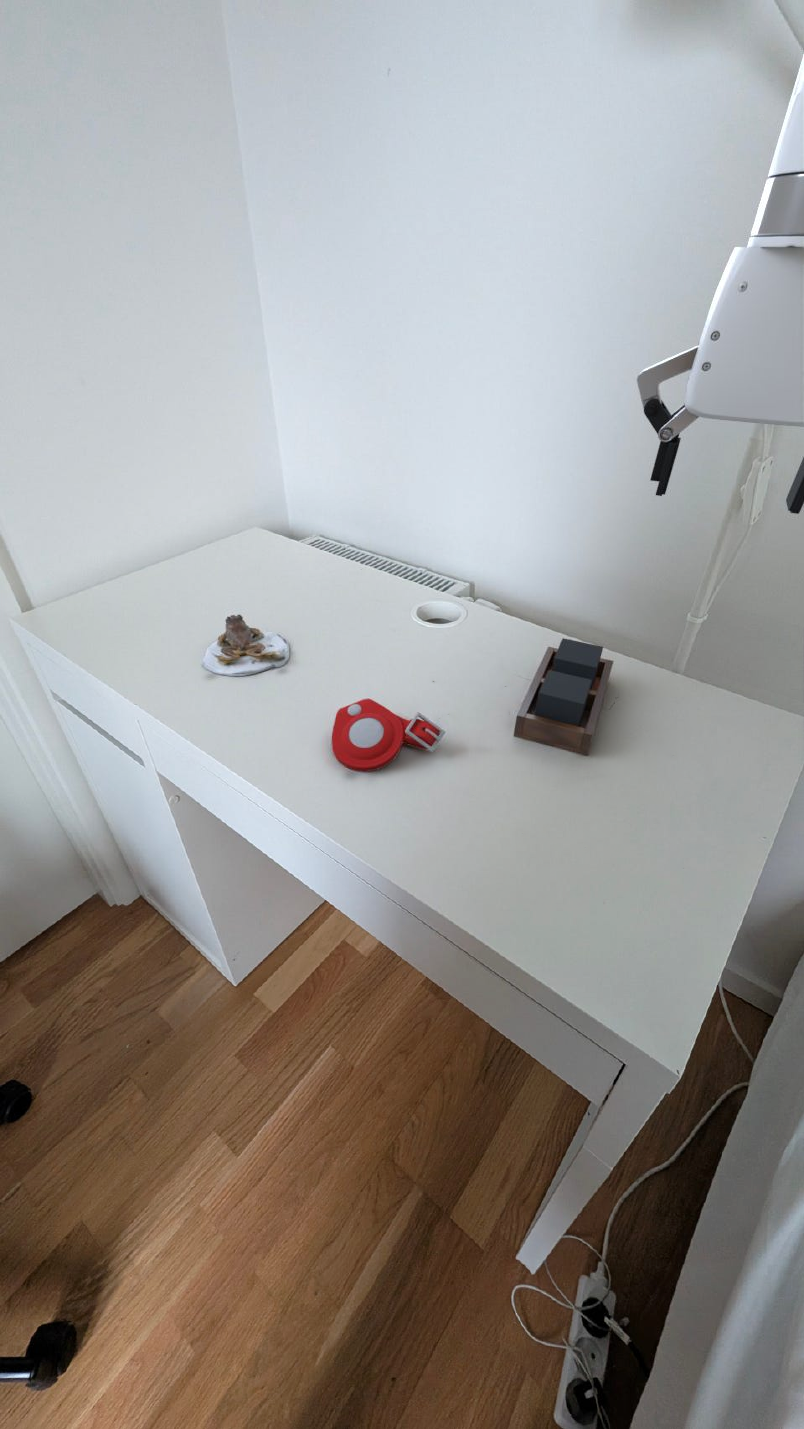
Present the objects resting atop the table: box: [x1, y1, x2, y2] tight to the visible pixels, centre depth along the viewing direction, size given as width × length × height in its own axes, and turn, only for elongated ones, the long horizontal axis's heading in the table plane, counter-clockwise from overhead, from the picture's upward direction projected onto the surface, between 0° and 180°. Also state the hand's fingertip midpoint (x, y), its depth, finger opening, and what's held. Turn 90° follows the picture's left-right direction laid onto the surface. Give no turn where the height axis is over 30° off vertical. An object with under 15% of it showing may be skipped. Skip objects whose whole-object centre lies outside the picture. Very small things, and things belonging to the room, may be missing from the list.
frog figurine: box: [201, 614, 291, 677], centre depth 79 cm, size 12×12×4 cm
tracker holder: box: [331, 698, 446, 772], centre depth 65 cm, size 12×4×10 cm
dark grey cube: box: [535, 670, 592, 727], centre depth 67 cm, size 5×5×5 cm
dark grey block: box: [552, 638, 604, 690], centre depth 72 cm, size 5×5×5 cm
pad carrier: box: [513, 646, 615, 757], centre depth 70 cm, size 8×16×3 cm, turn 156°
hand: (724, 499), depth 46 cm, fingers open, 9 cm apart
